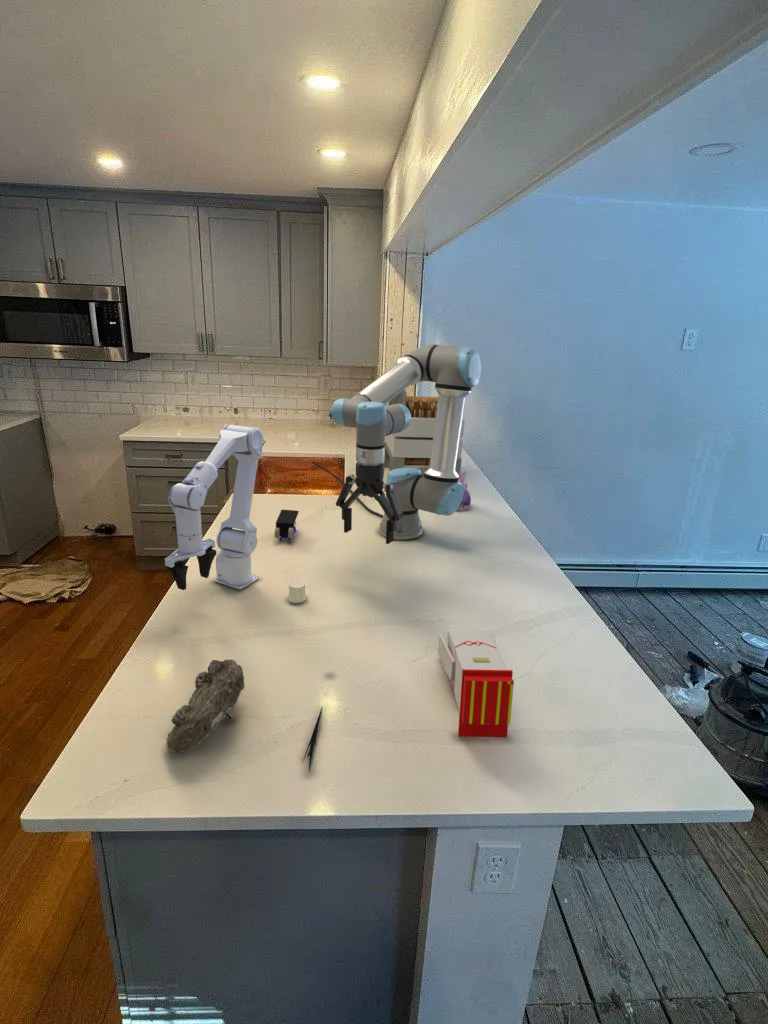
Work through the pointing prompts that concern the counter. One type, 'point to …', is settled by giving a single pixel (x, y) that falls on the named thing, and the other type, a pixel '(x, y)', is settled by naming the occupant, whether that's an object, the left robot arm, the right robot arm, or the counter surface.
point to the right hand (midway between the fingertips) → (368, 536)
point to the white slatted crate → (415, 434)
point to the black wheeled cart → (286, 524)
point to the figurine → (466, 496)
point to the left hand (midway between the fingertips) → (193, 582)
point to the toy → (478, 682)
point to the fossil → (206, 705)
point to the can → (296, 591)
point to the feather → (313, 740)
